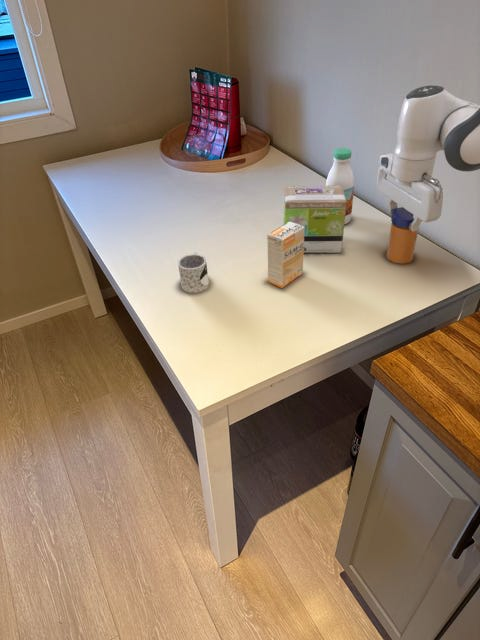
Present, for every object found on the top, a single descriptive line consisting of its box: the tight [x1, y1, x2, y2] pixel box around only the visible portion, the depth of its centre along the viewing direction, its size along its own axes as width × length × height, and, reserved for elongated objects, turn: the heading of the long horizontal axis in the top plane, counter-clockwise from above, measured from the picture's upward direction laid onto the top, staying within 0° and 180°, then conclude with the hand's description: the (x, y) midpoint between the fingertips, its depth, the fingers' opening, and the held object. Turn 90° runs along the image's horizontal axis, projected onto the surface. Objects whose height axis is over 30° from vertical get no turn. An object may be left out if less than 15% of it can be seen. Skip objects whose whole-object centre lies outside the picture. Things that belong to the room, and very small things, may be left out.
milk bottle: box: [325, 147, 355, 225], centre depth 134 cm, size 8×8×20 cm
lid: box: [390, 206, 421, 228], centre depth 116 cm, size 7×7×2 cm
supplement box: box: [266, 222, 305, 289], centre depth 114 cm, size 8×5×13 cm, turn 137°
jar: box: [386, 222, 419, 265], centre depth 119 cm, size 6×6×11 cm
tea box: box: [282, 185, 346, 254], centre depth 125 cm, size 15×10×15 cm
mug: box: [177, 252, 210, 294], centre depth 117 cm, size 10×7×7 cm
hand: (402, 222), depth 116 cm, fingers closed on lid, 6 cm apart
